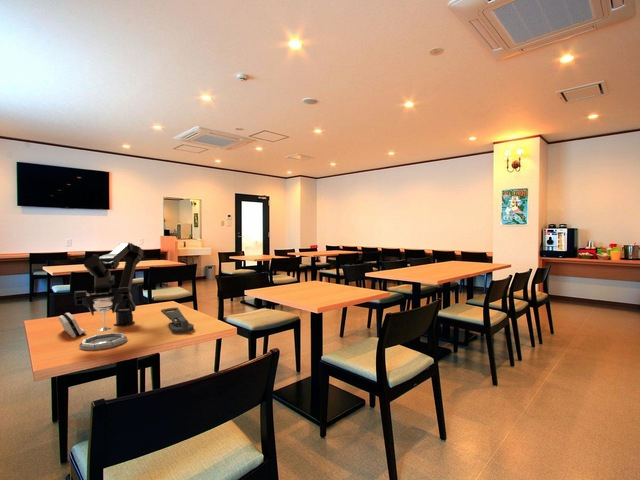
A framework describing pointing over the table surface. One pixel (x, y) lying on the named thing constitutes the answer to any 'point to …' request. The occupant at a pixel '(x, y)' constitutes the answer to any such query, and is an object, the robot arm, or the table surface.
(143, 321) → the table surface
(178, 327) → the zipper pull
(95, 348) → the rosette plate
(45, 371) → the table surface
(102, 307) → the wineglass
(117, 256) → the robot arm
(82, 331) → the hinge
